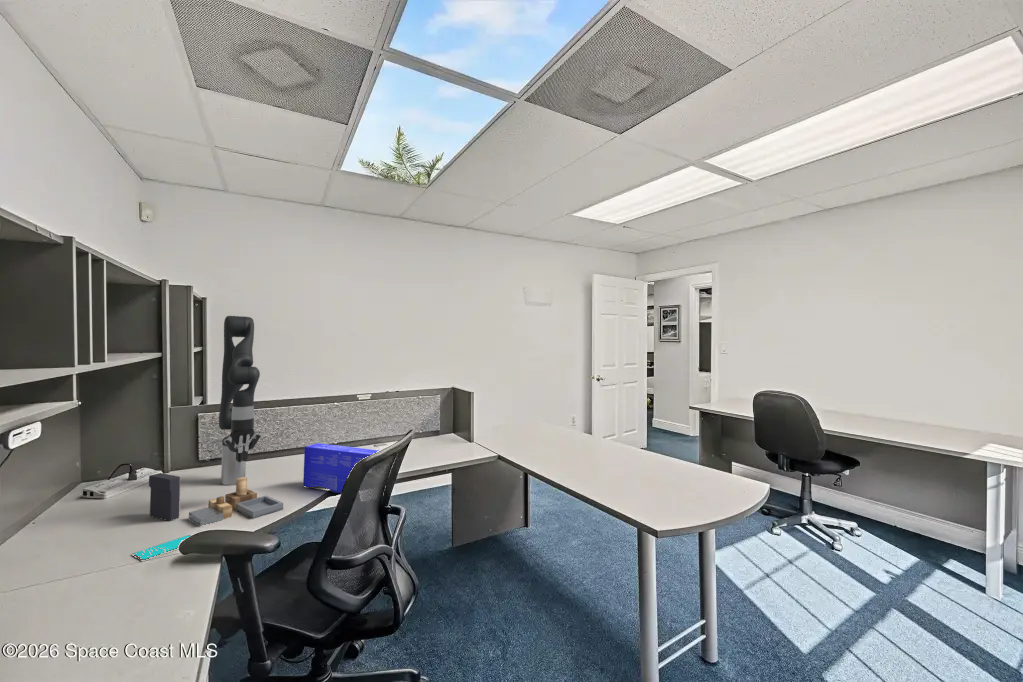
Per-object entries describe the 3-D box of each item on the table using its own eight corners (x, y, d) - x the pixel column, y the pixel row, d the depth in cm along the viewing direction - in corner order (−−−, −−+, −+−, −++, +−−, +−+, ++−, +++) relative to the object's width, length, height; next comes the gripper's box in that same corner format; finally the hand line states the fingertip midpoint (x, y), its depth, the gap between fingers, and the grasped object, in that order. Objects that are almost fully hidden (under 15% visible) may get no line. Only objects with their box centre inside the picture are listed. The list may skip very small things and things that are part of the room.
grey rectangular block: (188, 520, 153) (188, 512, 153) (211, 514, 159) (211, 506, 159) (200, 528, 147) (200, 519, 147) (223, 521, 153) (223, 513, 153)
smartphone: (131, 553, 127) (188, 534, 140) (131, 556, 127) (188, 537, 140) (142, 560, 124) (200, 540, 137) (142, 563, 124) (200, 542, 137)
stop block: (208, 511, 160) (208, 495, 161) (217, 508, 163) (217, 492, 163) (222, 519, 154) (223, 502, 154) (231, 516, 156) (232, 500, 156)
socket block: (225, 504, 167) (225, 494, 167) (247, 498, 174) (247, 488, 174) (234, 509, 163) (235, 499, 163) (256, 503, 169) (257, 493, 169)
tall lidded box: (181, 517, 155) (182, 475, 155) (168, 521, 150) (169, 479, 150) (160, 512, 158) (162, 472, 158) (147, 517, 154) (148, 475, 154)
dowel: (233, 504, 168) (234, 478, 168) (243, 501, 171) (244, 476, 171) (238, 506, 166) (239, 480, 166) (248, 503, 169) (248, 478, 169)
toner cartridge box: (388, 494, 184) (389, 451, 184) (376, 500, 176) (377, 455, 176) (316, 482, 197) (318, 441, 197) (302, 487, 189) (303, 445, 189)
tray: (235, 510, 162) (236, 503, 162) (265, 501, 171) (266, 495, 171) (252, 518, 155) (253, 511, 155) (283, 509, 164) (283, 502, 164)
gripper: (256, 414, 176) (255, 456, 176) (219, 418, 165) (218, 463, 165) (265, 416, 172) (264, 459, 172) (228, 420, 160) (226, 467, 160)
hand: (241, 461), depth 168 cm, fingers closed
